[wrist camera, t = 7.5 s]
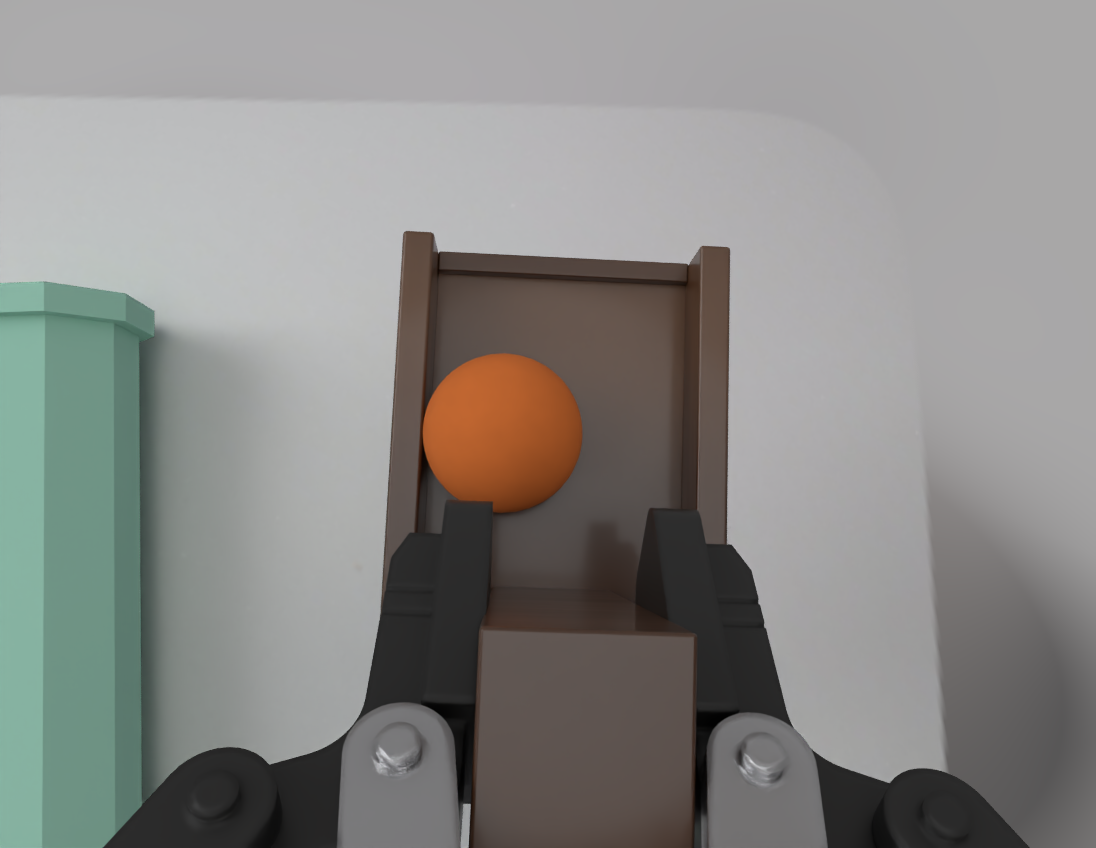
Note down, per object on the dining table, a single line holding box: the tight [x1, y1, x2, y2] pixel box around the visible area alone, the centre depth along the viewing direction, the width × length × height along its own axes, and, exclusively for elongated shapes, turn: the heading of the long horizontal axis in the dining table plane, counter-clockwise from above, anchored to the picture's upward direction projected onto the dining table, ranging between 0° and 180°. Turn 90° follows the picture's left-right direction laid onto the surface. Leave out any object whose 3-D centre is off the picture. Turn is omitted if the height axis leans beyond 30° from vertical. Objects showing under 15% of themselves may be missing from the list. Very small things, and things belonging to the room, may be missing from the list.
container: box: [0, 282, 154, 848], centre depth 27 cm, size 6×6×25 cm
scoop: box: [380, 231, 730, 848], centre depth 14 cm, size 10×6×9 cm
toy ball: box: [423, 353, 582, 513], centre depth 17 cm, size 3×3×3 cm
